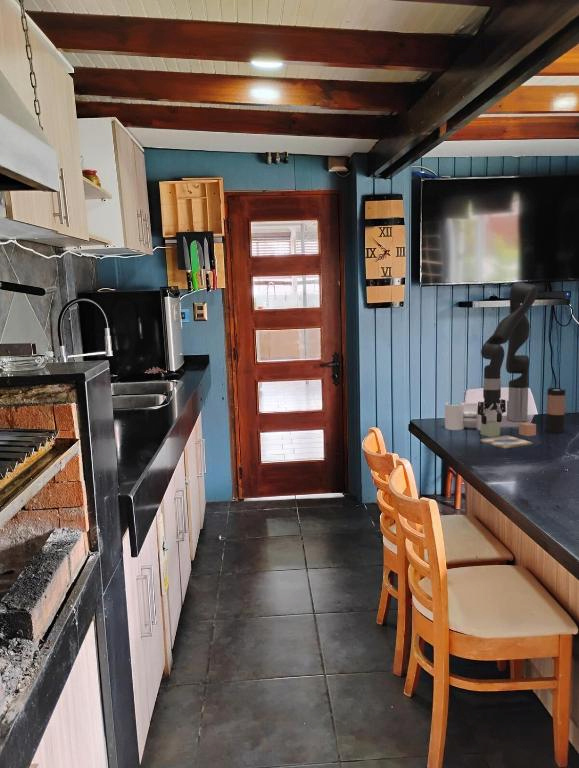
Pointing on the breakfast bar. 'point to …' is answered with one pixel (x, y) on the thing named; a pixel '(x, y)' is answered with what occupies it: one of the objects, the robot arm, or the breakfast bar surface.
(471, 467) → the breakfast bar surface
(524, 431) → the terracotta block
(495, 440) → the board
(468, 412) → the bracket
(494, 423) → the sage block
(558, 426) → the travel mug
